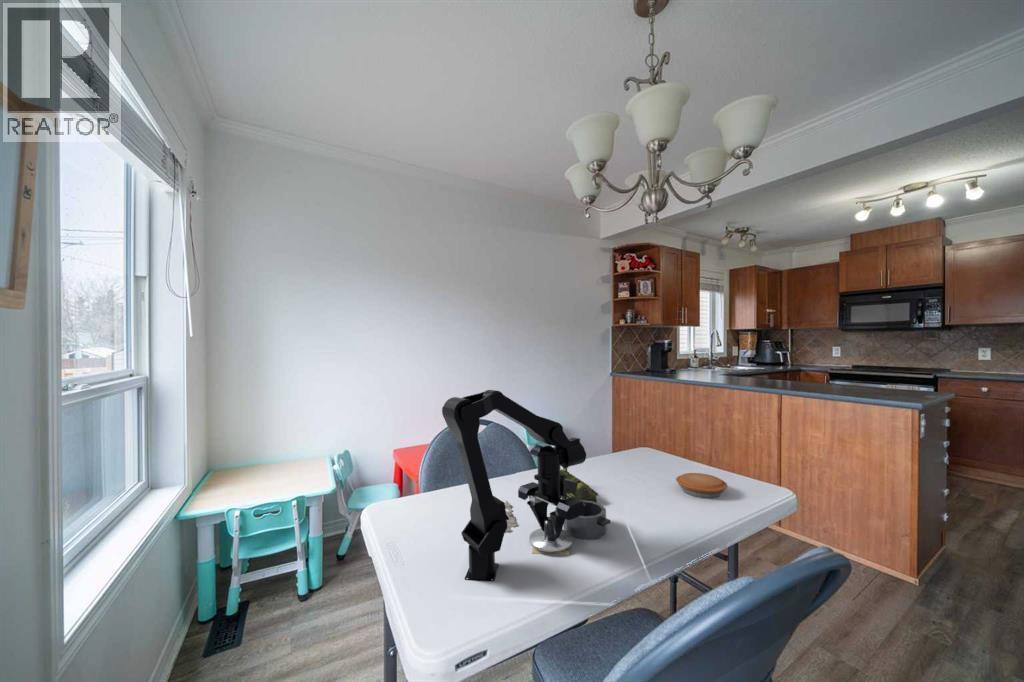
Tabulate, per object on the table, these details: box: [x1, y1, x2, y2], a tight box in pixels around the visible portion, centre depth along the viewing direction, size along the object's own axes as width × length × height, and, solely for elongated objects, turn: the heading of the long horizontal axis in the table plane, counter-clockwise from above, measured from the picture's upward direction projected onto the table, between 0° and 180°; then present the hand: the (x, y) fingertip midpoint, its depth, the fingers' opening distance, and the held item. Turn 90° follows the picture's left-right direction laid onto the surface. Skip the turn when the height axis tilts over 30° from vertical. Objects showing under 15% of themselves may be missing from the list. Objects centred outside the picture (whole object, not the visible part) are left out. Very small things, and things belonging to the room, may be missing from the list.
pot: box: [563, 500, 611, 541], centre depth 99 cm, size 14×11×6 cm
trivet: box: [531, 546, 571, 556], centre depth 91 cm, size 9×9×1 cm
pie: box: [675, 472, 728, 500], centre depth 124 cm, size 16×16×5 cm
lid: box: [528, 516, 574, 552], centre depth 91 cm, size 11×11×6 cm
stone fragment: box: [504, 500, 519, 534], centre depth 109 cm, size 25×3×10 cm
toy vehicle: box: [560, 466, 599, 503], centre depth 123 cm, size 9×20×10 cm, turn 20°
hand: (550, 534), depth 91 cm, fingers open, 4 cm apart
